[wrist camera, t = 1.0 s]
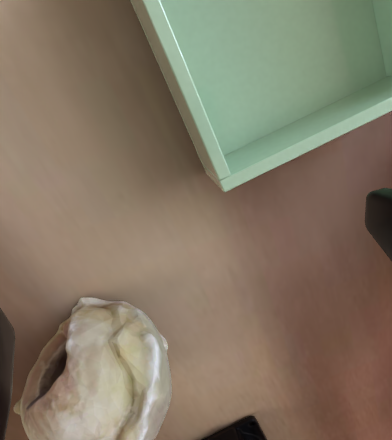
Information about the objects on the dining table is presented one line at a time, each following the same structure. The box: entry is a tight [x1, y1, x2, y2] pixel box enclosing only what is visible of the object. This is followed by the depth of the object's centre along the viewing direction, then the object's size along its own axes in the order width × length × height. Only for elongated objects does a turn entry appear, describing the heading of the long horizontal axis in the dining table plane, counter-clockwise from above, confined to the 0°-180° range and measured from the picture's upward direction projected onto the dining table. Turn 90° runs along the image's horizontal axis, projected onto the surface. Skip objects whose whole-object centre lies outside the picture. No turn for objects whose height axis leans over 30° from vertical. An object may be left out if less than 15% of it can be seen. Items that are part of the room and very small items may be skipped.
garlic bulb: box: [14, 297, 172, 440], centre depth 22 cm, size 9×8×10 cm
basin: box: [130, 0, 392, 192], centre depth 18 cm, size 13×13×5 cm
